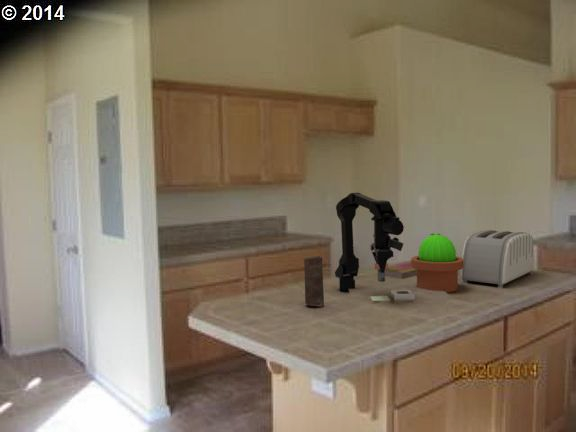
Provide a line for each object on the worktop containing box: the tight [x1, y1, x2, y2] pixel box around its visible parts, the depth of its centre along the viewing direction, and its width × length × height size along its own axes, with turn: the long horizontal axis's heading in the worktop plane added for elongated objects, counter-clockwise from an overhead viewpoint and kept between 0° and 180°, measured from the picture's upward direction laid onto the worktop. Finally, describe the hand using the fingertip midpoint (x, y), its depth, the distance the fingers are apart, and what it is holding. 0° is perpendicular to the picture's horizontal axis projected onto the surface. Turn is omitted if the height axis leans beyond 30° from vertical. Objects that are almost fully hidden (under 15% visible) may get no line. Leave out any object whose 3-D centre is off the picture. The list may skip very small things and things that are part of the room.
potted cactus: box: [410, 233, 464, 294], centre depth 236 cm, size 22×22×25 cm
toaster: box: [460, 229, 535, 289], centre depth 256 cm, size 21×45×22 cm, turn 138°
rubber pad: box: [370, 296, 390, 301], centre depth 215 cm, size 7×7×1 cm
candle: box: [303, 255, 325, 308], centre depth 211 cm, size 8×7×20 cm
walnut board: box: [366, 294, 418, 304], centre depth 215 cm, size 18×13×2 cm
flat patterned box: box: [385, 261, 417, 280], centre depth 275 cm, size 35×14×6 cm, turn 132°
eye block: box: [390, 289, 416, 301], centre depth 215 cm, size 8×8×2 cm
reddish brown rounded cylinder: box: [374, 262, 389, 283], centre depth 214 cm, size 5×5×7 cm
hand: (381, 271), depth 214 cm, fingers closed on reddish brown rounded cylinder, 5 cm apart
